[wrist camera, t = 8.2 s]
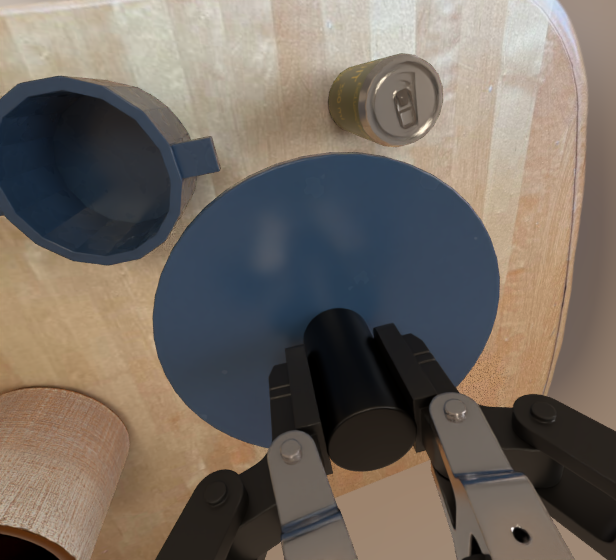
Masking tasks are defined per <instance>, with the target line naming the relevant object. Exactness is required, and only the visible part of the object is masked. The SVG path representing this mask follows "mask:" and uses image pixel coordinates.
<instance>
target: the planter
mask: <svg viewBox="0 0 616 560" xmlns="http://www.w3.org/2000/svg"><path fill="white" fill-rule="evenodd" d="M129 444H130V441H129V435H128V431H127V429H126V427H125V425H124V423H123V422H122V421H121V419H120V418H119V417H118V416H117V415H116V414H115V413H114V412H113V411H112V410H111V409H109V408H108V407H107V406H105V405H104V404H102V403H101V402H99V401H97V400H95V399H93V398H91V397H88V396H86V395H83V394H81V393H78V392H74V391H70V390H64V389H58V388H48V387H37V388H25V389H19V390H14V391H11V392H7V393H4V394H2V395H0V560H90V557H91V554H92V552H93V549H94V546H95V543H96V541H97V538H98V535H99V532H100V530H101V527H102V524H103V521H104V519H105V516H106V513H107V511H108V508H109V505H110V502H111V500H112V497H113V494H114V492H115V489H116V486H117V484H118V481H119V478H120V476H121V473H122V470H123V467H124V465H125V462H126V459H127V455H128V451H129Z"/></svg>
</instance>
